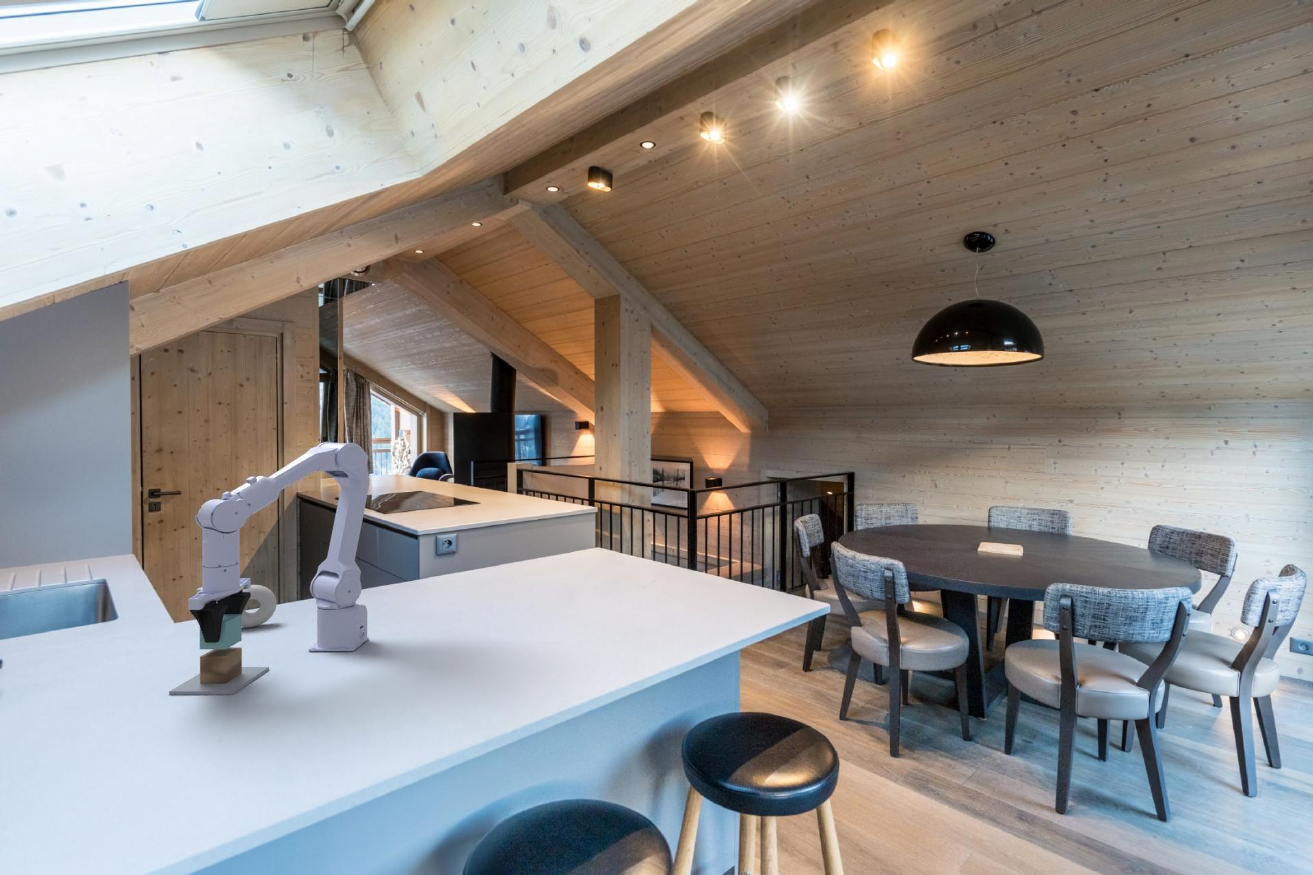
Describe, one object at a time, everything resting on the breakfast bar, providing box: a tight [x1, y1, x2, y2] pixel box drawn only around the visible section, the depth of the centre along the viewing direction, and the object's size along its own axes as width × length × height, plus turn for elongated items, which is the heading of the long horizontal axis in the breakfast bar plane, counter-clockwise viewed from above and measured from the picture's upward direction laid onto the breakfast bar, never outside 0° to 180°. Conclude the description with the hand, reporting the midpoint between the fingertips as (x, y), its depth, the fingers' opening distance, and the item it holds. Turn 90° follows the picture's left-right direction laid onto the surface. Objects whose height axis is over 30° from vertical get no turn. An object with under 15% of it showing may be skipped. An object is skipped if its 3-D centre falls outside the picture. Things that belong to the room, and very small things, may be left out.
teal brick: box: [199, 614, 243, 650], centre depth 116 cm, size 5×5×5 cm
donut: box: [242, 584, 278, 628], centre depth 146 cm, size 10×4×10 cm, turn 121°
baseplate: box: [168, 666, 270, 696], centre depth 116 cm, size 11×11×1 cm
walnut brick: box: [199, 646, 243, 684], centre depth 116 cm, size 5×5×5 cm
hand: (221, 637), depth 116 cm, fingers closed on teal brick, 5 cm apart
